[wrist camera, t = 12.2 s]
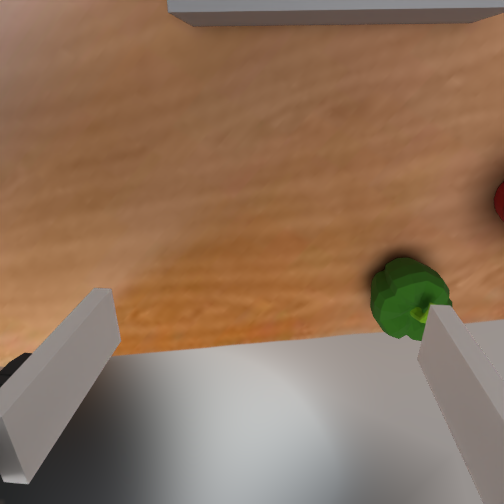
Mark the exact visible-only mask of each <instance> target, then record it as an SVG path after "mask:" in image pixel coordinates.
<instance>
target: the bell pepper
mask: <svg viewBox="0 0 504 504" xmlns="http://www.w3.org/2000/svg"><path fill="white" fill-rule="evenodd" d="M430 305H450V306H451V307H452V301H451V300H450V299H449V289H448V287H447V285H446V284H445V282H444V280H443V279H442V278H441V277H440V275H439V274H438V273H437V272H436V271H434V270H433V269H431V268H430V267H428V266H426V265H424V264H422V263H420V262H418V261H415V260H413V259H411V258H397V259H395V260H393V261H391V262H389V263H387V264H386V266H385V270H384V271H381V272H378V273H377V274H376V275H375V276H374V278H373V279H372V284H371V303H370V307H371V311H372V314H373V317H374V318H375V320H376V321H377V322H378V324H379V325H380V327H381V328H382V330H383V331H384V332H385V333H387V334H388V335H390V336H392V337H395V338H398V339H399V338H401V337H403V336H405V335H408V336H409V337H410V338H411V339H413V340H419V341H422V337H423V333H424V329H425V325H426V321H427V317H428V313H429V308H430Z"/></svg>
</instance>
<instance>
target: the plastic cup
mask: <svg viewBox="0 0 504 504" xmlns="http://www.w3.org/2000/svg"><path fill="white" fill-rule="evenodd" d="M494 205H495V209H496V212H497V213H498V215H499V216H500V218H501V219H502V220H503V222H504V182H503V183H502V184H501V185H500V187H499V188H498V189H497V192H496V195H495V197H494Z"/></svg>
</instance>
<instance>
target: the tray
mask: <svg viewBox="0 0 504 504" xmlns="http://www.w3.org/2000/svg"><path fill="white" fill-rule="evenodd" d="M167 5H168V13H170V14H172V15H174V16H175V17H177V18H179V19H181V20H183V21H184V22H186V23H188V24H190V25H192V26H266V25H351V24H436V23H473V22H476V21H479V20H482V19H485V18H488V17H491V16H494V15H498V14H501V13H504V0H167Z"/></svg>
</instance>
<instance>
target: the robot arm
mask: <svg viewBox="0 0 504 504" xmlns="http://www.w3.org/2000/svg"><path fill="white" fill-rule="evenodd" d="M120 342H121V338H120V333H119V327H118V322H117V316H116V311H115V306H114V300H113V295H112V289H107V288H94V289H93V290H92V291H91V292H90V293H89V294H88V295H87V296H86V297H85V298H84V299H83V300H82V301H81V302H80V303H79V304H78V306H77V307H76V308H75V309H74V310H73V311H72V312H71V313H70V314H69V315H68V316H67V317H66V318H65V319H64V320H63V322H62V323H61V324H60V325H59V326H58V327H57V328H56V329H55V330H54V331H53V332H52V333H51V334H50V335H49V336H48V337H47V339H46V340H45V341H44V342H43V343H42V344H41V345H40V346H39V347H38V348H37V349H36V350H35V351H34V352H33V353H23V354H22V355H20V356H19V357H17V358H15V359H14V360H12V361H11V362H9V363H8V364H7V365H6V366H5V367H4V368H3V369H2V370H1V371H0V474H1V476H2V478H3V480H4V482H12V483H22V484H29V483H30V481H31V479H32V478H33V476H34V475H35V473H36V472H37V470H38V468H39V467H40V466H41V464H42V462H43V461H44V459H45V458H46V456H47V455H48V453H49V451H50V450H51V448H52V447H53V445H54V444H55V442H56V441H57V439H58V437H59V436H60V435H61V433H62V431H63V430H64V428H65V427H66V425H67V424H68V422H69V421H70V419H71V417H72V416H73V414H74V413H75V411H76V410H77V408H78V407H79V405H80V403H81V402H82V400H83V399H84V397H85V396H86V394H87V393H88V391H89V390H90V388H91V386H92V385H93V383H94V382H95V380H96V379H97V377H98V376H99V374H100V373H101V371H102V369H103V368H104V366H105V365H106V363H107V362H108V360H109V359H110V357H111V356H112V354H113V352H114V351H115V349H116V348H117V346H118V345H119V343H120ZM417 359H418V362H419V364H420V366H421V368H422V370H423V373H424V375H425V377H426V379H427V381H428V384H429V386H430V388H431V390H432V392H433V394H434V397H435V399H436V401H437V403H438V405H439V408H440V410H441V412H442V414H443V416H444V419H445V421H446V423H447V425H448V427H449V429H450V432H451V433H452V436H453V438H454V440H455V442H456V445H457V447H458V449H459V451H460V453H461V456H462V458H463V460H464V462H465V464H466V466H467V469H468V471H469V473H470V475H471V477H472V480H473V482H474V484H475V486H476V488H477V490H478V493H479V495H480V497H481V499H482V501H483V503H484V504H504V380H503V378H502V377H501V376H500V374H499V373H498V371H497V370H496V368H495V367H494V366H493V364H492V363H491V362H490V360H489V359H488V358H487V356H486V354H484V352H483V350H482V349H481V348H480V346H479V345H478V343H477V342H476V340H475V339H474V338H473V336H472V335H471V334H470V332H469V331H468V329H467V328H466V327H465V325H464V324H463V322H462V321H461V320H460V318H459V317H458V315H457V314H456V313H455V311H454V310H453V308H452V307H451V306H450V305H430V308H429V313H428V317H427V321H426V325H425V329H424V333H423V337H422V341H421V346H420V350H419V354H418V358H417Z"/></svg>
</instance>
